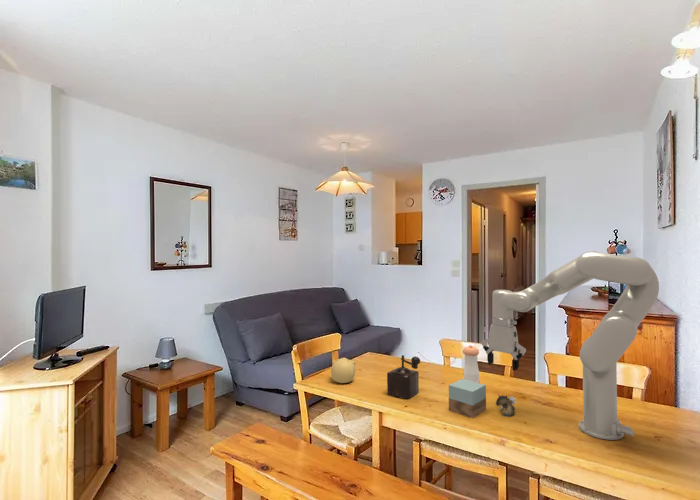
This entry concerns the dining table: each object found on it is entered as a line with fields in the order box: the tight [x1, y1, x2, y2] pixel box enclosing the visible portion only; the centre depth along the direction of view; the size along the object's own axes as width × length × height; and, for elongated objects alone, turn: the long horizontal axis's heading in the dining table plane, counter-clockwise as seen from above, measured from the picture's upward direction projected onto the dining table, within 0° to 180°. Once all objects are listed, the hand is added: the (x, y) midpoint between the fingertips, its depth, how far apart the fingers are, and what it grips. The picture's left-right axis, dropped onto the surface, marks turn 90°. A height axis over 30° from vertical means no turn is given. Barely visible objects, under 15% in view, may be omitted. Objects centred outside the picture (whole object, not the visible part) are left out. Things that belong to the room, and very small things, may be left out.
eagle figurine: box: [495, 394, 517, 418], centre depth 144 cm, size 8×7×9 cm
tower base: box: [448, 397, 487, 419], centre depth 146 cm, size 10×10×5 cm
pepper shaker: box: [462, 344, 481, 384], centre depth 169 cm, size 7×7×19 cm
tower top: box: [448, 378, 487, 405], centre depth 146 cm, size 10×10×5 cm
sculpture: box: [330, 357, 356, 384], centre depth 182 cm, size 12×12×11 cm
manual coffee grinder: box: [386, 354, 421, 400], centre depth 163 cm, size 16×11×18 cm
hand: (502, 366), depth 146 cm, fingers open, 9 cm apart
